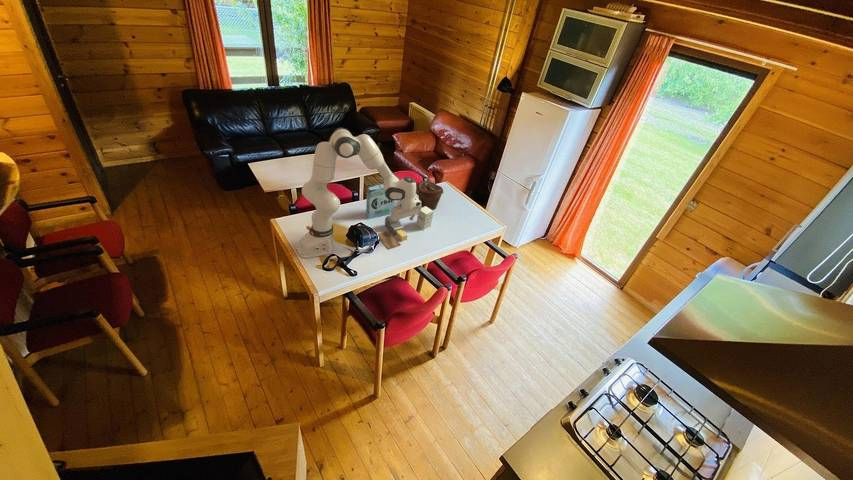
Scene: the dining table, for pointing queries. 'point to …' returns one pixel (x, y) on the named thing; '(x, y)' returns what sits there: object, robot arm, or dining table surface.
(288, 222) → the dining table surface
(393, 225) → the dispenser
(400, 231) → the yellow block
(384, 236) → the brown wooden board
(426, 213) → the supplement box
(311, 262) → the dining table surface
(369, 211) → the gum box
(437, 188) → the brown plant pot
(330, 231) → the robot arm
